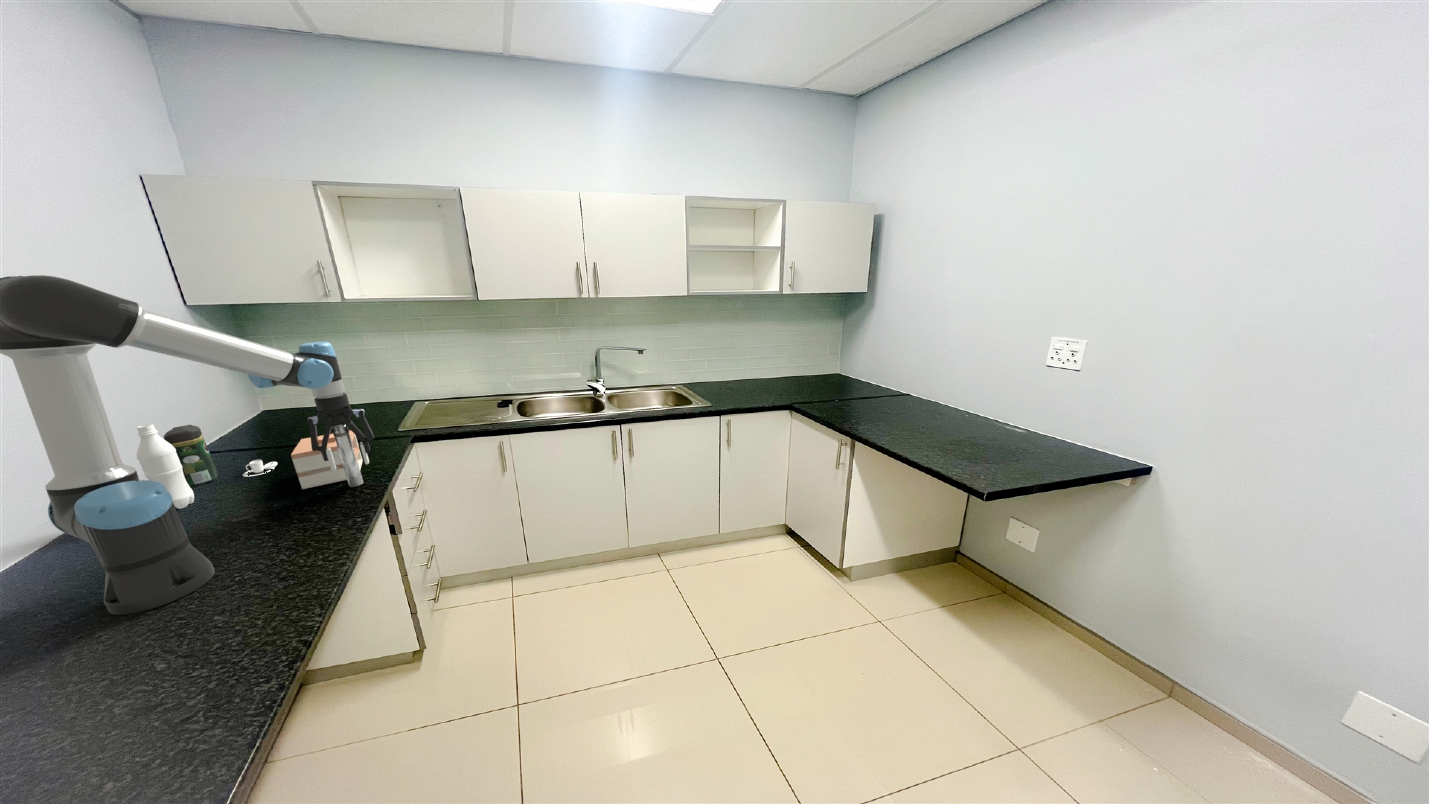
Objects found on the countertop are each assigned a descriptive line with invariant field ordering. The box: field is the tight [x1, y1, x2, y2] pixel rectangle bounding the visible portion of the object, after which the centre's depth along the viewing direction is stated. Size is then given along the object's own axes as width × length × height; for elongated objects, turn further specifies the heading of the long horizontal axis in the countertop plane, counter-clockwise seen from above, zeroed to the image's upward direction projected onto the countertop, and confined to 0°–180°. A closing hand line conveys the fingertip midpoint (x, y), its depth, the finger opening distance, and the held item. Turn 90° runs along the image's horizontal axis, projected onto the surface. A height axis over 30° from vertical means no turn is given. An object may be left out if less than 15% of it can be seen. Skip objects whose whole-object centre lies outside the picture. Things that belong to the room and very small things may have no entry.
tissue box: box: [290, 430, 364, 490], centre depth 151 cm, size 16×14×12 cm
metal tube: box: [331, 424, 364, 488], centre depth 142 cm, size 4×4×20 cm
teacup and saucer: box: [242, 459, 278, 478], centre depth 157 cm, size 9×8×4 cm
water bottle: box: [136, 423, 195, 510], centre depth 131 cm, size 7×7×25 cm
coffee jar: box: [163, 424, 219, 487], centre depth 149 cm, size 10×8×19 cm
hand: (351, 466), depth 143 cm, fingers open, 8 cm apart
